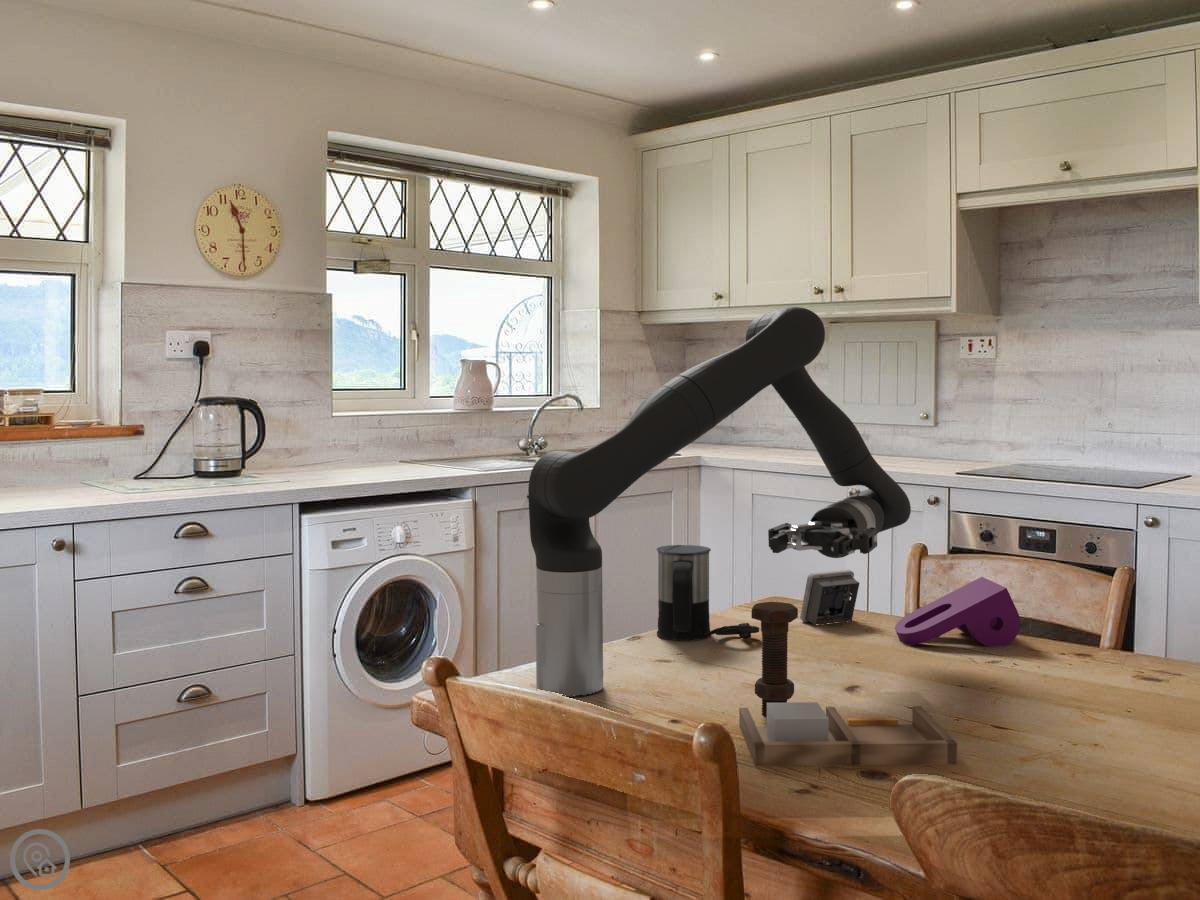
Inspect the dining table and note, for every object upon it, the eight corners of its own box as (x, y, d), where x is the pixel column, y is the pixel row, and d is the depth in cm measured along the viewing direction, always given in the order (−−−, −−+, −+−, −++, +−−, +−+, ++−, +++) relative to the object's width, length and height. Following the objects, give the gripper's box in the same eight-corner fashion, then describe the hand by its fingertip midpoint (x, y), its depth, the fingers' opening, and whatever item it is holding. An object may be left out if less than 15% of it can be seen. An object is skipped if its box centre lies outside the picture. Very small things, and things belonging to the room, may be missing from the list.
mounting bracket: (928, 685, 170) (1028, 634, 171) (906, 638, 170) (1006, 587, 170) (907, 668, 180) (1002, 620, 180) (886, 624, 179) (981, 576, 179)
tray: (755, 776, 117) (755, 745, 116) (738, 733, 130) (738, 705, 130) (956, 774, 117) (956, 743, 116) (918, 732, 130) (918, 704, 130)
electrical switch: (842, 616, 192) (846, 566, 191) (860, 625, 188) (864, 574, 186) (798, 622, 188) (801, 571, 187) (815, 631, 184) (819, 579, 182)
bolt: (793, 716, 137) (793, 601, 136) (801, 729, 132) (802, 609, 131) (747, 717, 136) (748, 601, 135) (754, 730, 131) (755, 610, 130)
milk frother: (650, 630, 183) (650, 544, 182) (738, 625, 186) (738, 541, 185) (672, 651, 169) (671, 558, 168) (766, 645, 172) (766, 554, 171)
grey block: (775, 754, 120) (775, 719, 120) (766, 735, 126) (766, 702, 126) (828, 753, 120) (828, 718, 120) (817, 735, 126) (817, 702, 126)
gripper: (795, 500, 159) (754, 517, 145) (891, 503, 152) (856, 522, 138) (797, 549, 160) (755, 571, 146) (892, 555, 152) (858, 579, 139)
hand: (804, 547), depth 142 cm, fingers open, 8 cm apart
